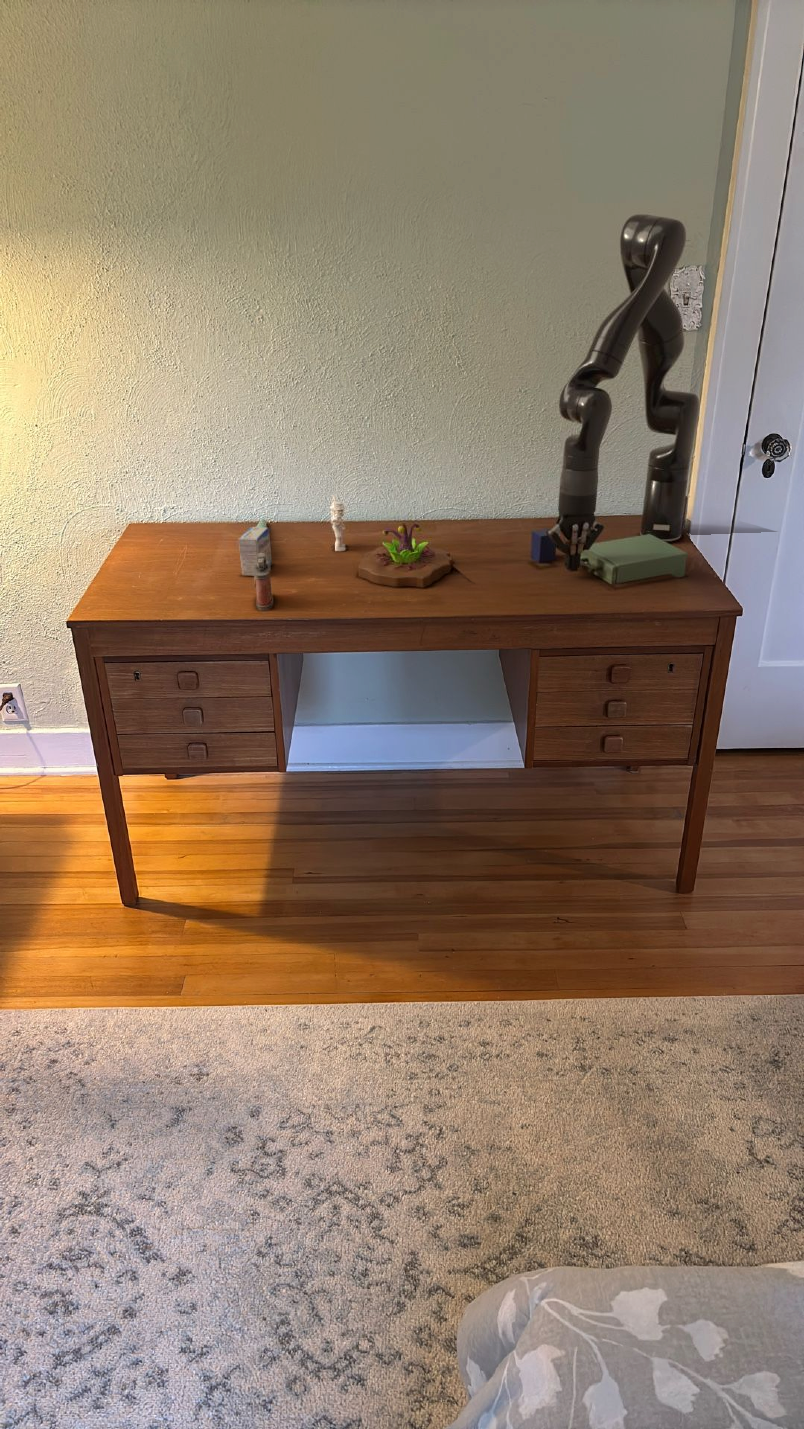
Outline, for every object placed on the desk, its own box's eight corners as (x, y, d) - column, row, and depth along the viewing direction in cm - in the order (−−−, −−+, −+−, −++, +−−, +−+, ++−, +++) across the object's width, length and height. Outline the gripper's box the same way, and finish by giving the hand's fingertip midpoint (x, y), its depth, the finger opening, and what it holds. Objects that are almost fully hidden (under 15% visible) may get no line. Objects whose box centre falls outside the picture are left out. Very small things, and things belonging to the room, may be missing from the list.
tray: (597, 589, 202) (598, 569, 200) (563, 568, 213) (564, 548, 211) (680, 574, 209) (683, 554, 207) (643, 554, 220) (645, 535, 218)
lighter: (257, 595, 204) (253, 549, 199) (273, 594, 204) (269, 548, 199) (255, 610, 197) (251, 563, 192) (272, 609, 197) (268, 562, 192)
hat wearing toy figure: (332, 542, 232) (329, 492, 226) (348, 541, 232) (346, 491, 226) (330, 555, 224) (327, 504, 218) (347, 554, 224) (345, 503, 218)
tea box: (538, 568, 215) (540, 536, 211) (530, 562, 218) (531, 530, 214) (554, 566, 216) (557, 533, 212) (545, 560, 219) (547, 528, 215)
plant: (345, 581, 210) (342, 530, 204) (378, 551, 226) (377, 503, 220) (433, 592, 204) (433, 540, 198) (461, 560, 220) (462, 512, 214)
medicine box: (261, 577, 213) (257, 539, 208) (241, 576, 213) (237, 537, 209) (272, 564, 219) (269, 527, 215) (253, 563, 220) (250, 526, 216)
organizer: (615, 588, 204) (618, 565, 201) (581, 567, 215) (583, 544, 212) (684, 576, 209) (687, 553, 207) (647, 556, 220) (650, 533, 218)
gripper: (559, 497, 192) (553, 580, 200) (616, 489, 196) (608, 571, 205) (540, 488, 198) (535, 568, 206) (596, 480, 202) (589, 559, 211)
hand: (572, 570), depth 205 cm, fingers closed
